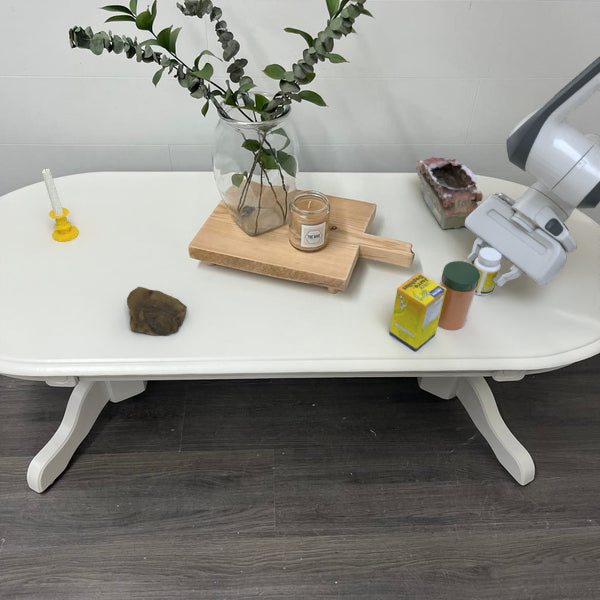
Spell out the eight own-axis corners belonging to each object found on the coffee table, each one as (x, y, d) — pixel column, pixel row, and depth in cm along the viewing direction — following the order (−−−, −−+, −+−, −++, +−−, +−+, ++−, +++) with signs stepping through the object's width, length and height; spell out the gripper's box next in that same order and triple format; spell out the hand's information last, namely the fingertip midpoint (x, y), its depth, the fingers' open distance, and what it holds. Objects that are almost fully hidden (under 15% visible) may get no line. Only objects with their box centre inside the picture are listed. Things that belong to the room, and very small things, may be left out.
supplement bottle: (494, 284, 111) (506, 250, 105) (490, 299, 108) (501, 264, 102) (470, 277, 112) (480, 243, 107) (464, 291, 109) (474, 257, 103)
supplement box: (408, 318, 103) (418, 271, 96) (435, 335, 100) (448, 288, 93) (387, 334, 100) (396, 287, 93) (415, 352, 97) (426, 305, 90)
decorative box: (417, 234, 123) (425, 195, 116) (397, 185, 137) (403, 148, 131) (477, 232, 124) (488, 193, 117) (451, 184, 138) (459, 147, 132)
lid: (483, 289, 96) (485, 282, 95) (449, 293, 95) (451, 285, 94) (469, 267, 100) (471, 259, 99) (436, 270, 99) (438, 262, 98)
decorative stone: (193, 303, 105) (191, 289, 103) (176, 340, 98) (174, 325, 96) (138, 296, 106) (135, 282, 104) (118, 331, 99) (114, 317, 97)
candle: (58, 244, 117) (36, 177, 106) (48, 232, 120) (26, 166, 109) (82, 235, 119) (63, 169, 109) (72, 224, 122) (53, 158, 112)
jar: (470, 328, 102) (485, 284, 95) (438, 332, 101) (450, 287, 94) (458, 305, 106) (471, 261, 99) (427, 308, 105) (438, 265, 98)
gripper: (490, 181, 108) (440, 236, 111) (575, 238, 95) (516, 300, 98) (502, 195, 113) (453, 248, 116) (584, 252, 100) (527, 310, 103)
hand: (482, 272), depth 107 cm, fingers open, 6 cm apart
